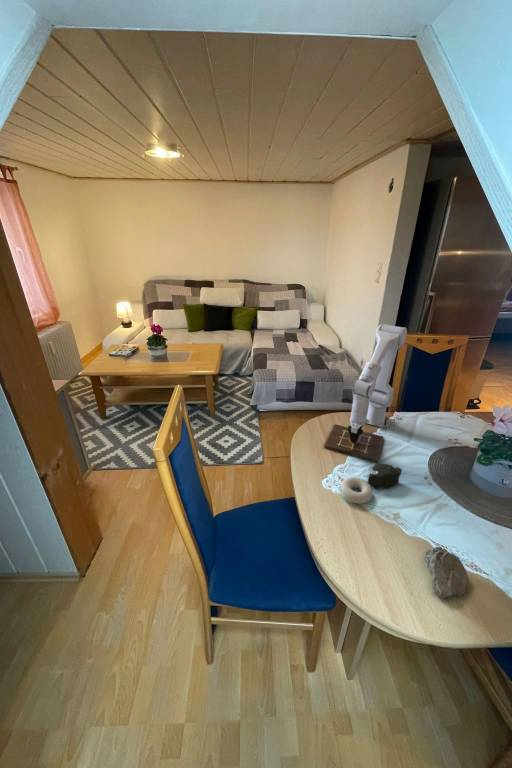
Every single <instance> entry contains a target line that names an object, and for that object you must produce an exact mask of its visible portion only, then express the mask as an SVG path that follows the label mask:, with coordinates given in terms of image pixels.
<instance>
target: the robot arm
mask: <svg viewBox="0 0 512 768" xmlns="http://www.w3.org/2000/svg"><path fill="white" fill-rule="evenodd" d="M407 335H408V329H407V327H405V326H404V327H403V326H396V325H390V324H385V323H380V325H378V326H377V328H376V332H375V341H376V345H375V348H374V351H373V354H372V356H371V359H370V360H369V361H367V362H366V363H365V364H364V367H363V369H362V370H361V373H360V375H359V377H358V379H357V378H356V379H355V381H354V382H353V384H352V388H351V392H352V398H353V399H352V406H351V413H350V414H351V415H350V416H349V422H350V425H347V427H348V428H347V429H348V432H349V434H350V441H351V442H352V443H357V440H358V438H359V436H360V435H361V434H362V433H363V432H364V429H363V426H364V425H365V424H366V425H371V426H374V427H379V428H384V426H385V422H386V418H387V417H386V416H387V415H386V411H387V408H389V407H390V406H391V405H392V404H393V400H394V394H395V389H394V388H393V387H392V386H391V385H390V380H391V376H392V372H393V368H394V364H395V361H396V357H397V352H398V350H399V348H403V347H404V345H405V342H406V339H407Z"/></svg>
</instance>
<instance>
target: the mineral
mask: <svg viewBox="0 0 512 768" xmlns="http://www.w3.org/2000/svg"><path fill="white" fill-rule="evenodd" d="M402 473H403V469H402V468H400V467H398V466H397V467H395V466H393V465H392V464H389V463H388V464H387V463H376V464H374V466H373V467H372V469H371V471H370V473H369V475H368V478H367V483H368V484H369V485H370V486H371V488H373V489H375V490H381V489H382V490H383V489H390V488H392V487H395V486H396V485H398V484H399V482H400V477H401V475H402Z"/></svg>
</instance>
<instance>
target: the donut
mask: <svg viewBox="0 0 512 768" xmlns="http://www.w3.org/2000/svg"><path fill="white" fill-rule="evenodd" d="M353 488H355V489H359V490H360V491H358V492H357V491H355V490H353ZM372 488H373V487H372V486H371V485H369V484H368V481H366V480H364V479H363V478H361V477H356V476H350V477H347V478H345V479H343V480H342V482H341V484H340V492H341V495H342V496H343V497H344V498H345V499H346V500H348V501H349V502H351V503H354V504H359V505H361V504H366V503H368V502H369V501H371V500H372V497H373V489H372Z"/></svg>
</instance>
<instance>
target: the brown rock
mask: <svg viewBox="0 0 512 768" xmlns="http://www.w3.org/2000/svg"><path fill="white" fill-rule="evenodd" d="M423 560H424V562H425V563H426V567H427V568H428V570H429V571H430V574H431V580H432V582H433V585H432V589H433V591H434V592H435V593H436V594H437V596H439V598H440V599H446V598H448V597H460V596H461V597H462V596H463V595H464V594H465V593H466V591H467V589H468V585H469V579H468V574H467V571H466V568H465V566H464V564H463V562H462V561H461V559H460V558H459V557H458V556H457V555H456V554H454V553H451V552H449V551H448V550H446V549H444V548H443V547H440V546H435V547H431V548H429V549H427V550H426V551H425V554H424V556H423Z"/></svg>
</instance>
